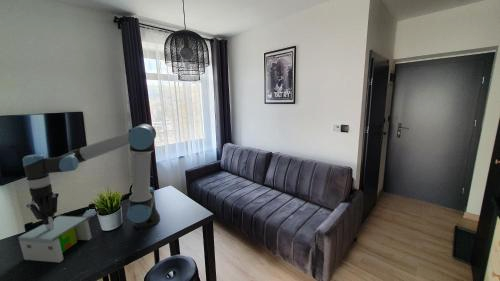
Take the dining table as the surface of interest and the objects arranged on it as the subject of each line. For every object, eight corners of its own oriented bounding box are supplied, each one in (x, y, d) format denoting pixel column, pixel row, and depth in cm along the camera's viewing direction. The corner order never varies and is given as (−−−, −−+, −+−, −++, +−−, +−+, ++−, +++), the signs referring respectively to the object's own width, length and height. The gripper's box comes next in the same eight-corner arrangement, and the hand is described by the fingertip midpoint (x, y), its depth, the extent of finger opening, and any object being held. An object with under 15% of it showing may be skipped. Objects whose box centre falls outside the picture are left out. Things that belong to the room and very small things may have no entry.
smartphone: (100, 205, 153) (94, 215, 140) (100, 206, 153) (94, 216, 140) (88, 207, 151) (81, 217, 137) (89, 208, 151) (81, 218, 137)
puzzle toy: (61, 240, 115) (58, 225, 113) (77, 242, 114) (73, 226, 112) (42, 254, 106) (37, 237, 103) (58, 255, 104) (54, 238, 102)
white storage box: (94, 237, 118) (90, 216, 115) (60, 263, 99) (54, 238, 96) (62, 235, 120) (57, 214, 117) (23, 260, 101) (16, 236, 99)
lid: (88, 220, 115) (88, 216, 115) (51, 243, 96) (50, 239, 96) (60, 218, 117) (60, 215, 117) (19, 240, 98) (18, 236, 98)
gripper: (47, 180, 106) (57, 220, 110) (17, 191, 93) (29, 236, 98) (60, 180, 105) (69, 221, 110) (31, 191, 92) (42, 237, 97)
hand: (50, 228), depth 104 cm, fingers closed
